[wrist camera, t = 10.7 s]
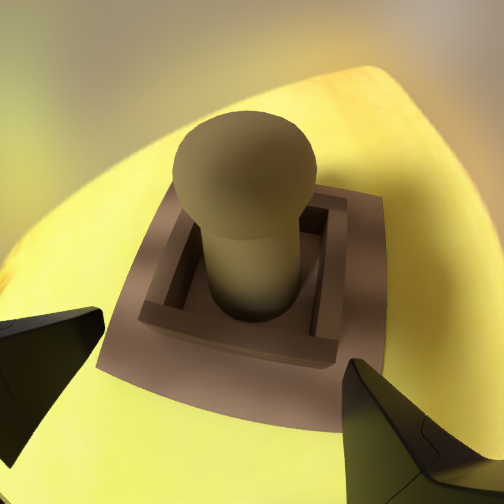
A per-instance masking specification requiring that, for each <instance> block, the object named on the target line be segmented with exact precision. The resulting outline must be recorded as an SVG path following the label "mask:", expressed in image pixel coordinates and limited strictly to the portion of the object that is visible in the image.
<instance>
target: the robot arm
mask: <svg viewBox="0 0 504 504" xmlns="http://www.w3.org/2000/svg"><path fill="white" fill-rule="evenodd" d="M104 332H105V324H104V317H103V312H102V310H101V309H100V308H97V307H94V306H91V307H85V308H80V309H74V310H68V311H63V312H57V313H51V314H45V315H39V316H33V317H27V318H20V319H18V320H17V319H14V320H7V321H0V459H1V460H2V461H3V462H4V463H5V465H6V466H7V467H8V468H9V469H11V467H12V466H13V465H14V463H15V461H16V460H17V458H18V457H19V455H20V453H21V452H22V450H23V449H24V447H25V445H26V444H27V442H28V441H29V439H30V438H31V436H32V435H33V432H34V431H35V430H36V428H37V427H38V426H39V424H40V423H41V421H42V420H43V418H44V417H45V415H46V414H47V413H48V411H49V410H50V408H51V407H52V406H53V404H54V403H55V401H56V400H57V399H58V397H59V396H60V395H61V393H62V392H63V391H64V389H65V388H66V387H67V385H68V384H69V383H70V381H71V380H72V379H73V377H74V376H75V375H76V373H77V372H78V371H79V369H80V368H81V367H82V366H83V364H84V363H85V362H86V360H87V359H88V357H89V356H90V354H91V353H92V351H93V349H94V348H95V346H96V345H97V343H98V342H99V340H100V339H101V337H102V336H103V334H104ZM341 421H342V433H343V444H344V457H345V473H346V494H347V504H504V460H492V459H488V458H485V457H483V456H481V455H480V454H478V453H477V452H475V451H474V450H472V449H471V448H469V447H468V446H466V445H465V444H463V443H462V442H461V441H459V440H458V439H456V438H455V437H453V436H452V435H451V434H449V433H448V432H447V431H445V430H444V429H443V428H441V427H440V426H439V425H438V424H437V423H435V422H434V421H433V420H432V419H431V418H430V417H428V416H427V415H426V416H425V413H424V412H423V411H421V410H420V409H419V408H418V407H417V406H416V405H414V404H413V403H412V402H411V401H410V400H409V399H408V398H406V397H405V396H404V395H403V394H402V393H401V392H400V391H398V390H397V389H396V388H395V387H394V386H393V385H392V384H390V383H389V382H388V381H387V380H386V379H385V378H384V377H383V376H381V375H380V374H379V373H378V372H377V371H376V370H375V369H373V368H372V367H371V366H370V365H369V364H368V363H367V362H365V361H364V360H363V359H359V358H351V359H350V360H349V362H348V365H347V368H346V370H345V373H344V376H343V379H342V419H341ZM0 504H11V503H10V502H9V501H8V500H7V499H6V498H5V497H4V496H3V495H2V494H1V493H0Z"/></svg>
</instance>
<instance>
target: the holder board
mask: <svg viewBox="0 0 504 504" xmlns="http://www.w3.org/2000/svg"><path fill="white" fill-rule="evenodd" d="M299 235H300V254H301V279H302V281H301V286H300V292H299V295H298V297H297V298H296V300H295V302H294V303H293V305H292V307H290V308H289V309H288V310H287V311H286V312H285V313H283V314H282V315H281V316H279V317H277V318H274V319H272V320H270V321H267V322H259V323H248V322H243V321H239V320H235V319H234V318H232V317H230V316H229V315H227V314H225V313H224V312H223V311H222V310H221V309H220V308H219V307H218V305H217V304H216V303H215V302H214V300H213V297H212V294H211V292H210V289H209V283H208V277H207V270H206V263H205V256H204V249H203V242H202V235H201V228H200V227H199V226H198V225H197V223H196V222H195V221H194V220H193V219H192V218H191V217H190V216H189V215H188V214H187V212H186V211H185V210H184V209H183V208H182V206H181V204H180V202H179V199H178V197H177V194H176V190H175V187H174V183H173V181H172V183H171V185H170V187H169V189H168V191H167V192H166V194H165V196H164V198H163V200H162V202H161V204H160V206H159V208H158V210H157V212H156V214H155V216H154V218H153V220H152V222H151V224H150V226H149V228H148V230H147V233H146V235H145V237H144V239H143V241H142V243H141V246H140V248H139V250H138V252H137V255H136V257H135V259H134V261H133V264H132V266H131V269H130V271H129V273H128V276H127V278H126V281H125V283H124V286H123V288H122V291H121V293H120V296H119V298H118V301H117V304H116V306H115V309H114V312H113V315H112V317H111V320H110V323H109V326H108V329H107V332H106V335H105V338H104V341H103V344H102V347H101V350H100V354H99V357H98V360H97V364H96V368H98V369H100V370H102V371H104V372H106V373H108V374H110V375H112V376H114V377H117V378H119V379H121V380H123V381H126V382H128V383H130V384H133V385H135V386H138V387H140V388H142V389H145V390H147V391H150V392H153V393H155V394H158V395H161V396H163V397H166V398H169V399H172V400H175V401H178V402H181V403H184V404H187V405H190V406H194V407H197V408H200V409H204V410H207V411H211V412H215V413H218V414H222V415H226V416H230V417H235V418H239V419H243V420H248V421H253V422H258V423H263V424H269V425H274V426H281V427H287V428H294V429H302V430H311V431H321V432H334V433H342V421H341V419H342V379H343V376H344V373H345V370H346V368H347V365H348V362H349V360H350V359H351V358H359V359H363V360H364V361H365V362H367V363H368V364H369V365H370V366H371V367H372V368H373V369H375V370H376V371H377V372H378V373H379V374H380V375H381V374H382V365H383V356H384V344H385V330H386V307H387V262H386V240H385V225H384V213H383V203H382V197H379V196H374V195H369V194H364V193H360V192H355V191H349V190H344V189H339V188H333V187H328V186H322V185H316V184H315V187H314V192H313V196H312V198H311V199H310V201H309V203H308V204H307V206H306V207H305V209H304V211H303V212H302V214H301V215H300V217H299Z"/></svg>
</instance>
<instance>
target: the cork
mask: <svg viewBox="0 0 504 504" xmlns="http://www.w3.org/2000/svg"><path fill="white" fill-rule="evenodd" d="M316 173H317V165H316V159H315V155H314V152H313V150H312V147H311V144H310V142H309V141H308V139H307V138H306V136H305V135H304V133H303V132H302V131H301V130H300V129H299V128H298V127H297V126H296V125H295V124H293V123H291V122H290V121H288V120H286V119H284V118H282V117H279V116H276V115H272V114H269V113H265V112H258V111H238V112H230V113H226V114H222V115H219V116H216V117H214V118H212V119H209V120H207V121H205V122H203V123H201V124H199V125H198V126H197V127H195V128H194V129H193V130H192V131H190V132H189V133H188V134H187V135H186V136H185V138H184V139H183V141H182V142H181V144H180V145H179V148H178V150H177V152H176V155H175V159H174V164H173V183H174V187H175V190H176V194H177V197H178V199H179V202H180V204H181V206H182V208H183V209H184V210H185V211H186V212H187V214H188V215H189V216H190V217H191V218H192V219H193V220H194V221H195V222H196V223H197V225H198V226H199V227H200V228H201V235H202V242H203V249H204V256H205V263H206V270H207V277H208V283H209V289H210V292H211V294H212V297H213V300H214V302H215V303H216V304H217V305H218V307H219V308H220V309H221V310H222V311H223V312H224V313H225V314H227V315H229V316H230V317H232V318H234V319H235V320H239V321H243V322H248V323H259V322H267V321H270V320H272V319H274V318H277V317H279V316H281V315H282V314H283V313H285V312H286V311H287V310H288V309H289V308H290V307H292V305H293V303H294V302H295V300H296V298H297V297H298V295H299V292H300V286H301V281H302V279H301V254H300V235H299V217H300V215H301V214H302V212H303V211H304V209H305V207H306V206H307V204H308V203H309V201H310V199H311V198H312V196H313V192H314V187H315V181H316Z"/></svg>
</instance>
